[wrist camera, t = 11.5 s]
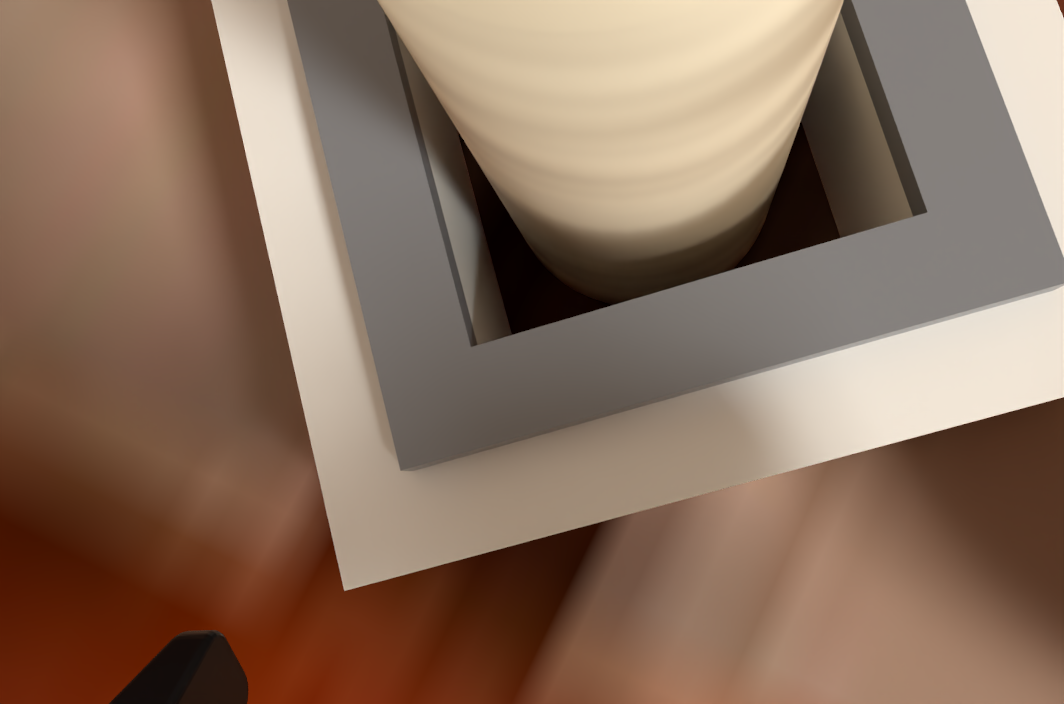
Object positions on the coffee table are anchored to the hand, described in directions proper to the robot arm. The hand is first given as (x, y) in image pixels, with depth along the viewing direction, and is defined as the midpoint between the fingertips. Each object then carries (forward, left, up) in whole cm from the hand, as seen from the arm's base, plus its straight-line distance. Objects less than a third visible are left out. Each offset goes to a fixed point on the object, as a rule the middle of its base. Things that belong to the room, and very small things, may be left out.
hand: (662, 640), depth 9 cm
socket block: (+7, -2, -8) cm, 11 cm away
